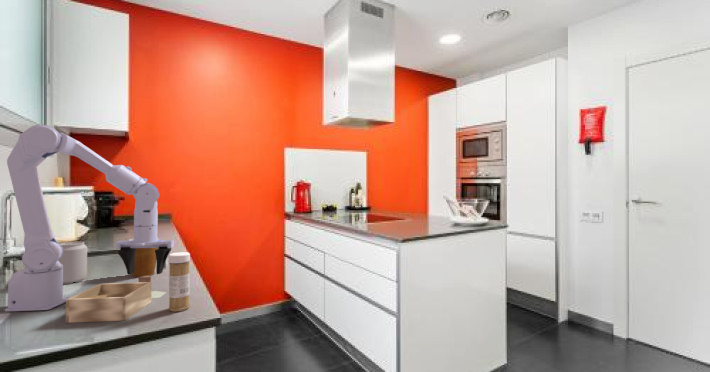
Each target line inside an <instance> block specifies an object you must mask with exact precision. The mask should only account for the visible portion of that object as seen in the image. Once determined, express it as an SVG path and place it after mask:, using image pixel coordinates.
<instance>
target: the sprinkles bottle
mask: <svg viewBox="0 0 710 372" xmlns="http://www.w3.org/2000/svg"><path fill="white" fill-rule="evenodd" d="M190 260H191V254H190V252H187V251H180V252H173V253H169V255H168V263H169V264H168V265H169V267H168V268H169V271H168V299H169V301H168V302H169V305H168V306H169V308H168V310H169V311H170V312H175V313H176V312H183V311H186V310H188V309H189V308H190V277H191V276H190Z"/></svg>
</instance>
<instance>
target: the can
mask: <svg viewBox="0 0 710 372" xmlns="http://www.w3.org/2000/svg"><path fill="white" fill-rule="evenodd" d="M59 244H60V245H61V246H62V248H63V254H62V256H61V258H60V259H59V260H58V261H59V263H60V264H62V265H63V285H70V284H71V285H72V284H74V283H73V282H76V283H81V282H83V281H84V280H85V279H87V277H88V246H87V245H86V244H85V241H68V242H61V243H59ZM76 283H75V284H76Z"/></svg>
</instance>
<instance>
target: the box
mask: <svg viewBox="0 0 710 372" xmlns="http://www.w3.org/2000/svg"><path fill="white" fill-rule="evenodd" d="M151 291H152V281H151V282H142V283H139V282H117V283H116V282H115V283H114V282H113V283H111V282H110V283H99V284H97V285H95V286H93V287H90V288H87V289H86V290H84V291H82V292H80V293H77V294H75V295H72V296H71V298H69V299H66V302H65V324H68V323H69V324H71V323H91V322H93V323H94V322H96V323H97V322H117V321H118V322H119V321H126V320H128V319H129V318H131V317H132V316H134V315H135V314H137V313H138V312H139V311H141V310H142V309H144V308H145V307H147V305H149V304H150V303H151V302H152V298H151ZM99 295H108V297H107V298H87V297H89V296H99Z"/></svg>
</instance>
